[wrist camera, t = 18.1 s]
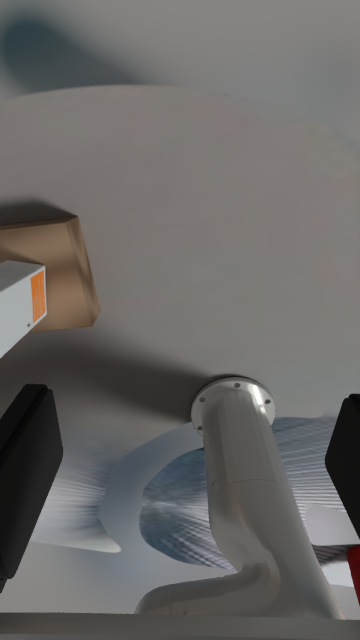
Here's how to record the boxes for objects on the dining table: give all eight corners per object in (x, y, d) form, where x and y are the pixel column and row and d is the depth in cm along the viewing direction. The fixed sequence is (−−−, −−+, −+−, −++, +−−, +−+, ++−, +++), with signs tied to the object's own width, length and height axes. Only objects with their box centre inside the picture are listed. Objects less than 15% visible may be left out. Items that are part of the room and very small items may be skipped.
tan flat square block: (101, 309, 43) (91, 326, 38) (13, 317, 43) (-6, 335, 39) (79, 215, 37) (65, 222, 33) (-20, 226, 38) (-47, 235, 33)
